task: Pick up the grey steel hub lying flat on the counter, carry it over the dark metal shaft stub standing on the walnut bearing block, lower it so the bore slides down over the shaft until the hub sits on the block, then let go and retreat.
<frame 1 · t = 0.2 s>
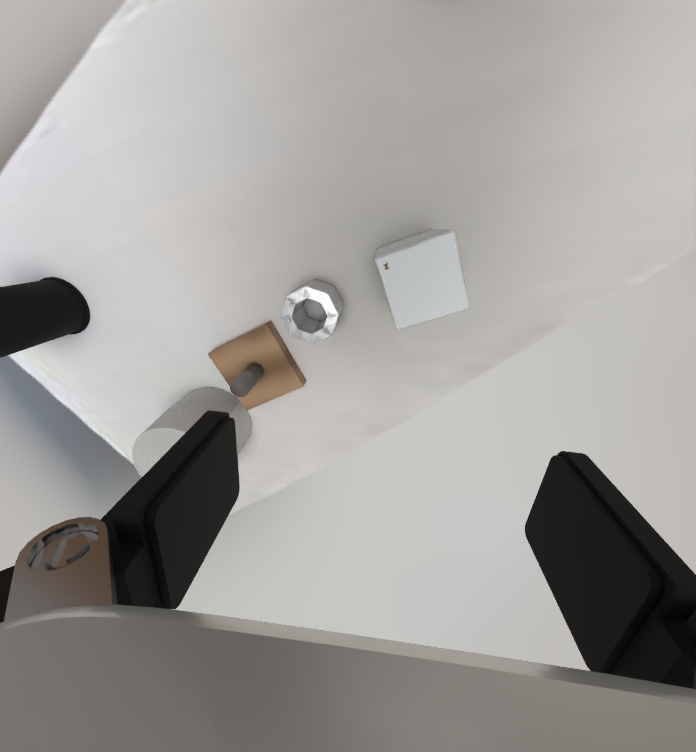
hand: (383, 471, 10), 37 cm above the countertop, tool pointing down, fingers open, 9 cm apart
hub: (318, 305, 45), on the countertop
aerosol can: (63, 306, 49), on the countertop
toilet paper roll: (216, 418, 55), on the countertop
shaft block: (260, 364, 50), on the countertop
supplement box: (411, 268, 42), on the countertop
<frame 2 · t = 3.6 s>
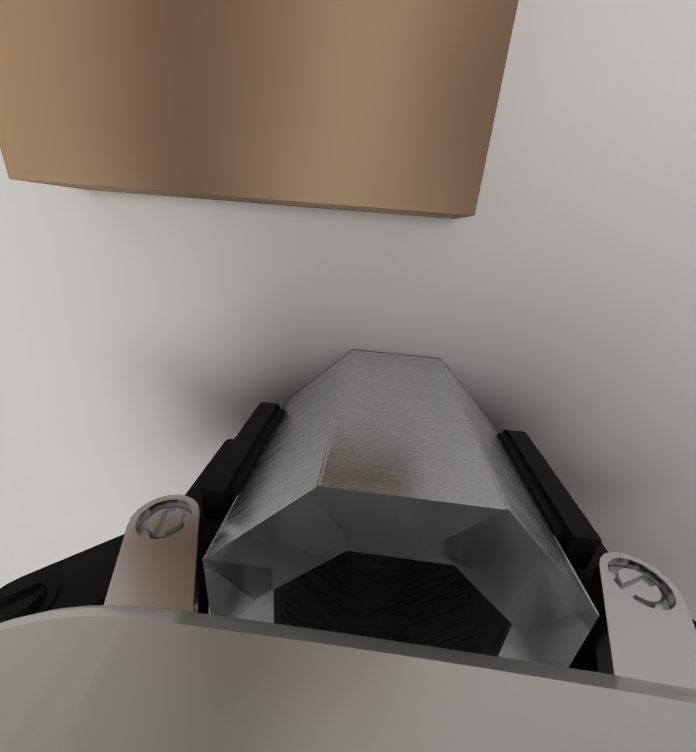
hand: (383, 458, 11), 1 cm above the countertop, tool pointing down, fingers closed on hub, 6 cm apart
hub: (383, 442, 11), on the countertop, touching gripper
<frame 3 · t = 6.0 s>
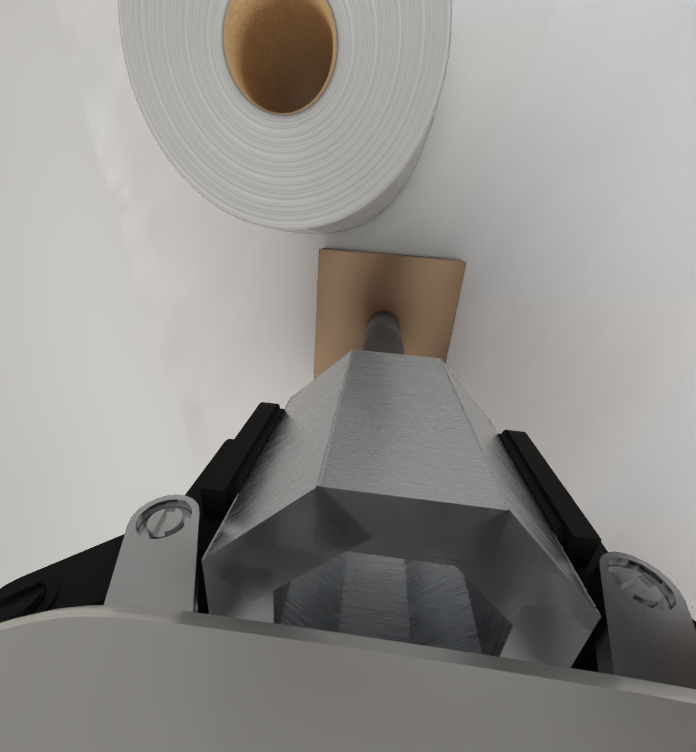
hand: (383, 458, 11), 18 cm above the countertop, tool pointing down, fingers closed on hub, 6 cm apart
hub: (383, 442, 11), point 17 cm above the countertop, touching gripper
toilet paper roll: (329, 136, 23), on the countertop
shaft block: (383, 320, 27), on the countertop
when the fingers open (4 cm above the countertop, at t = 8.5 s): hub drops 2 cm, resting on shaft block.
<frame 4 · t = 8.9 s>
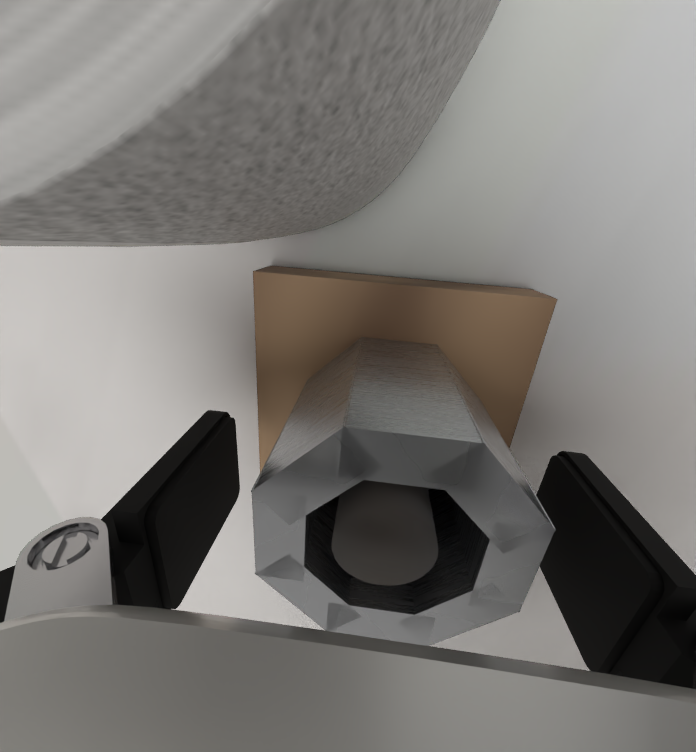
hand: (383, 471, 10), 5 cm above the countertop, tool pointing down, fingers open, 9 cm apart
hub: (387, 419, 13), point 2 cm above the countertop, touching shaft block
toilet paper roll: (270, 33, 11), on the countertop
shaft block: (383, 393, 15), on the countertop
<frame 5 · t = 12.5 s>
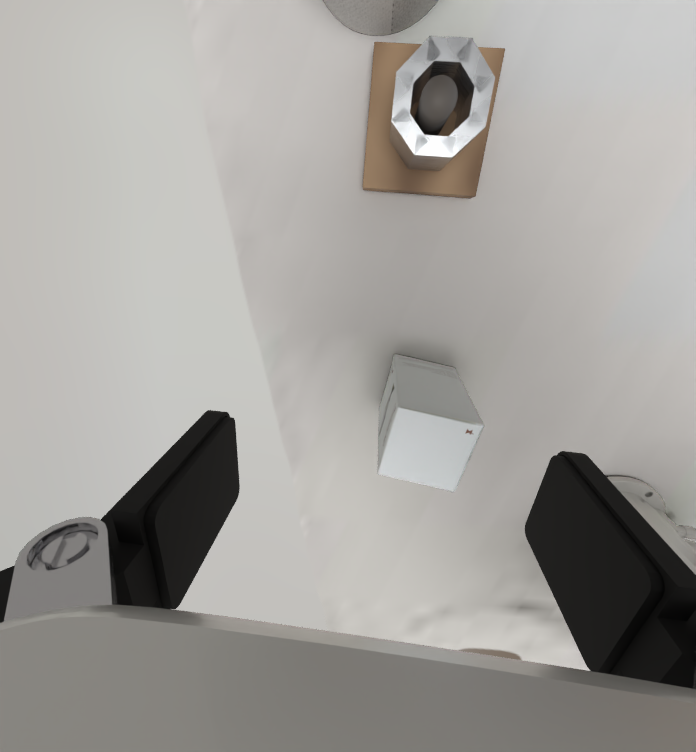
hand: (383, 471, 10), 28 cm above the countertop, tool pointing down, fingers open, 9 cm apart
hub: (430, 125, 28), point 2 cm above the countertop, touching shaft block
shaft block: (425, 130, 30), on the countertop
supplement box: (415, 387, 40), on the countertop
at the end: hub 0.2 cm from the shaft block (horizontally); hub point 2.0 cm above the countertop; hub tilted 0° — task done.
